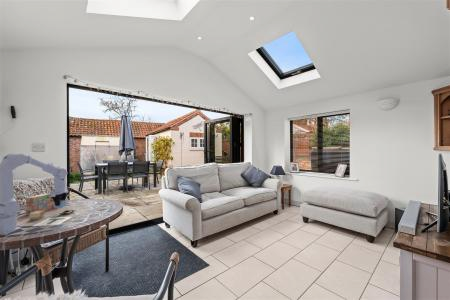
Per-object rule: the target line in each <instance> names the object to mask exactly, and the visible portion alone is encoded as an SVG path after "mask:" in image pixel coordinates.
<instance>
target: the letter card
mask: <svg viewBox="0 0 450 300" xmlns="http://www.w3.org/2000/svg"><path fill="white" fill-rule="evenodd" d="M71 218H72V216H61V217H59V216H58V217H48V218H46V219H44V220H41V221H40V222H38V223H35V224H34V225H33V227H42V226H45V227H46V226H55V225H57V226H58V225H61V224H63V223H64V222H66V221H68V220H69V219H71Z"/></svg>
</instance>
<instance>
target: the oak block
mask: <svg viewBox="0 0 450 300" xmlns="http://www.w3.org/2000/svg"><path fill="white" fill-rule="evenodd" d="M45 212H46V211H35V212H32V213H30V215H29V221H39V220H41V219H43V218H45V217H46V216H45Z"/></svg>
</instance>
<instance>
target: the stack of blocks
mask: <svg viewBox="0 0 450 300" xmlns="http://www.w3.org/2000/svg"><path fill="white" fill-rule="evenodd" d="M51 194H52V193H41V194H37V195H33V196H28V197H26V198H25V210H26V211H25V213H26V214H25V215H29V216H30V213H32V212H35V211H45V212H48V211H49V210H53V209H55V208H54V201H53V199H52V198H51Z"/></svg>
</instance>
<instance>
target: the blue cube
mask: <svg viewBox="0 0 450 300" xmlns="http://www.w3.org/2000/svg"><path fill="white" fill-rule="evenodd" d="M66 205H67V203H66V199H65V200H60V205H59V206H55V203H54V209H61V208H65V207H66Z"/></svg>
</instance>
